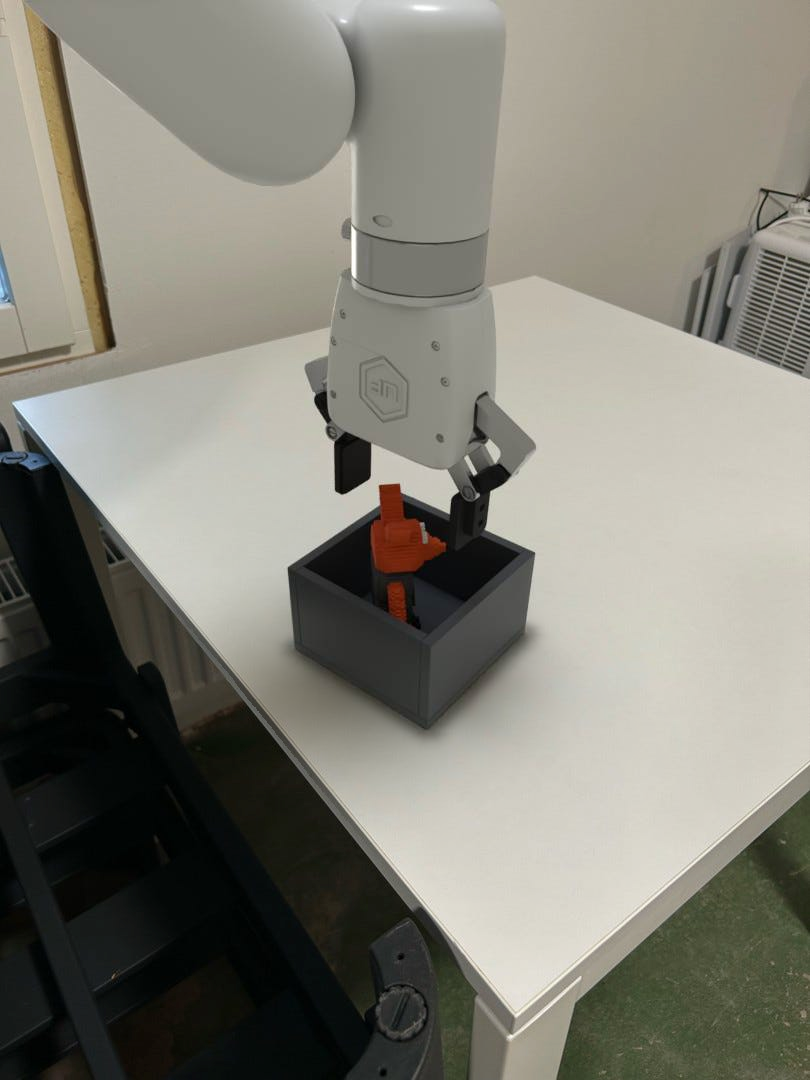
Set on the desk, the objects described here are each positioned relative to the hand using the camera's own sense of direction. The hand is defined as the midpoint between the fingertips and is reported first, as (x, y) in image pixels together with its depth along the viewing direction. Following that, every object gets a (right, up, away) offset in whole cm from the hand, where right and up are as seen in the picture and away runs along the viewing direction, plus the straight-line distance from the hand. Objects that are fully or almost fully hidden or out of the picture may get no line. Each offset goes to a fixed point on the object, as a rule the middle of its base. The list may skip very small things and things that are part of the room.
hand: (406, 511), depth 56 cm
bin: (0, -10, +7) cm, 12 cm away
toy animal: (0, -9, +7) cm, 11 cm away
